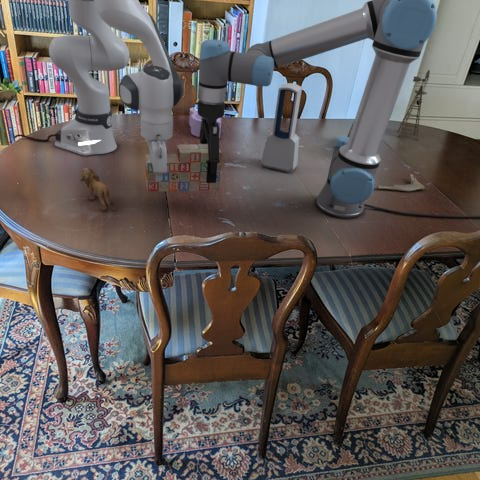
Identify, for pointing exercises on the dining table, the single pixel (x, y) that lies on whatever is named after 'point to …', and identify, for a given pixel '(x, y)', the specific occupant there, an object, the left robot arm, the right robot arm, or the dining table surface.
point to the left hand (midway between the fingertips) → (157, 174)
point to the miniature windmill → (419, 92)
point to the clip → (198, 122)
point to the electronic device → (283, 134)
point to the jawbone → (405, 186)
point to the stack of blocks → (184, 170)
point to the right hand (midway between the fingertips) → (207, 173)
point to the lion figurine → (95, 186)
